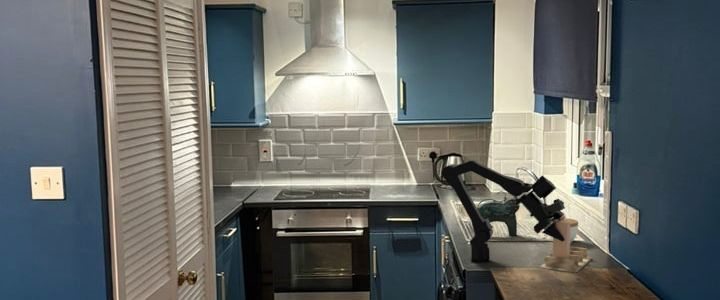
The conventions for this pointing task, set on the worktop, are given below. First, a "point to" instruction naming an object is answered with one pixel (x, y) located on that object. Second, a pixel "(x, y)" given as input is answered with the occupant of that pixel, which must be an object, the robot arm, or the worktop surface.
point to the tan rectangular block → (561, 247)
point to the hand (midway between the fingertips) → (565, 239)
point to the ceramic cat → (501, 212)
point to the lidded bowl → (571, 228)
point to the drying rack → (568, 260)
